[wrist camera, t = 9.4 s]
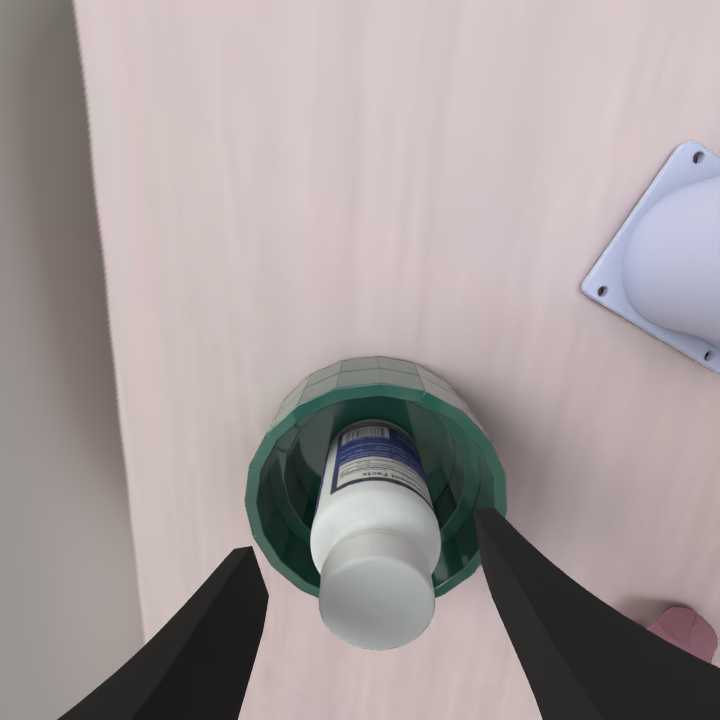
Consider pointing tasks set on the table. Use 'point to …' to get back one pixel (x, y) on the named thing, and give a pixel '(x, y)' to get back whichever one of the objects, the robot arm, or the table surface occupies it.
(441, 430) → the bowl
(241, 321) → the table surface
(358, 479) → the pill bottle
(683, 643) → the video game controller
